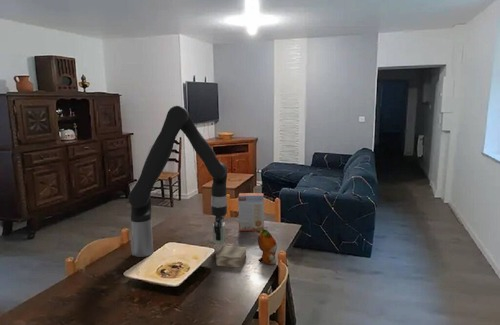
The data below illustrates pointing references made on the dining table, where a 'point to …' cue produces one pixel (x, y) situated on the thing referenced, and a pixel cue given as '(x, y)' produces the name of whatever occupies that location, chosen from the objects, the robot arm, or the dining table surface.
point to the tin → (221, 235)
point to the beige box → (231, 256)
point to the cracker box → (251, 211)
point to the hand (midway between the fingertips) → (219, 237)
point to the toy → (267, 247)
